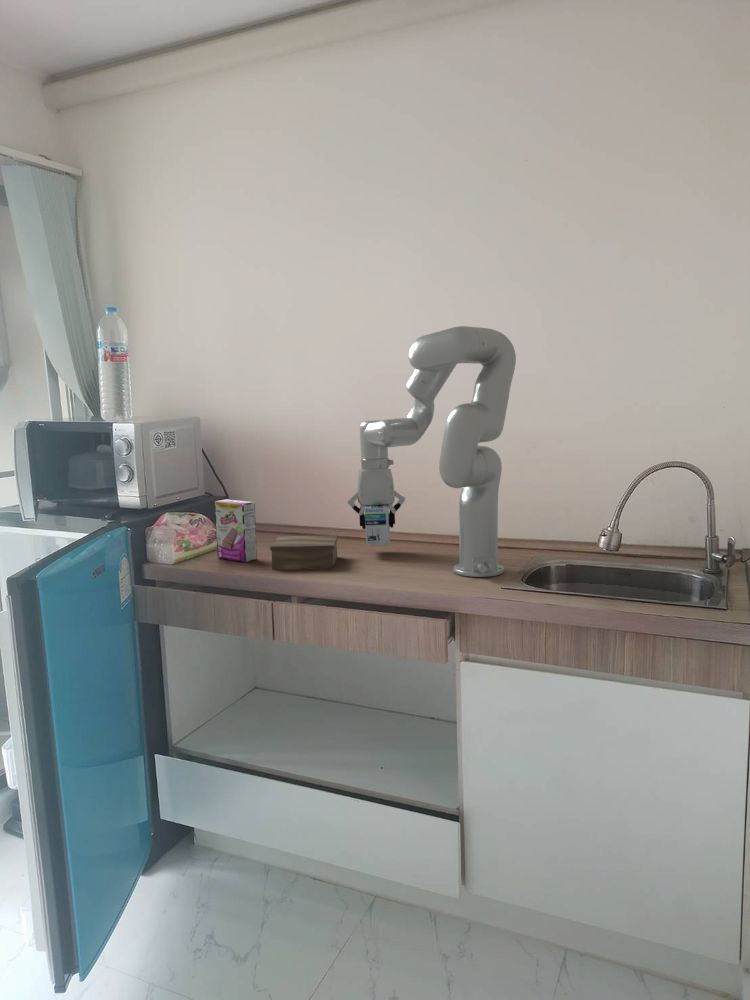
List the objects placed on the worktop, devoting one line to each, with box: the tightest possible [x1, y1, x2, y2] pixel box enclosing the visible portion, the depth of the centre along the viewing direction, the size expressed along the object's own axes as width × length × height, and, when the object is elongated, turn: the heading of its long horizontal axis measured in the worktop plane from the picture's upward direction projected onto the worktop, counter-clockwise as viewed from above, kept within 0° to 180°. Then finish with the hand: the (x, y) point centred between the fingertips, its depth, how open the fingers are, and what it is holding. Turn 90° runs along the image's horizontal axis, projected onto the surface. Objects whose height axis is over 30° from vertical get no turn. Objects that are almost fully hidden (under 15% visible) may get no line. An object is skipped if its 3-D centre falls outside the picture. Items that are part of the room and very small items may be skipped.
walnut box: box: [269, 534, 339, 571], centre depth 198 cm, size 15×17×6 cm
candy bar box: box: [214, 498, 258, 563], centre depth 204 cm, size 11×5×16 cm, turn 57°
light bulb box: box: [364, 505, 391, 547], centre depth 205 cm, size 11×7×11 cm, turn 179°
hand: (377, 527), depth 206 cm, fingers closed on light bulb box, 7 cm apart
